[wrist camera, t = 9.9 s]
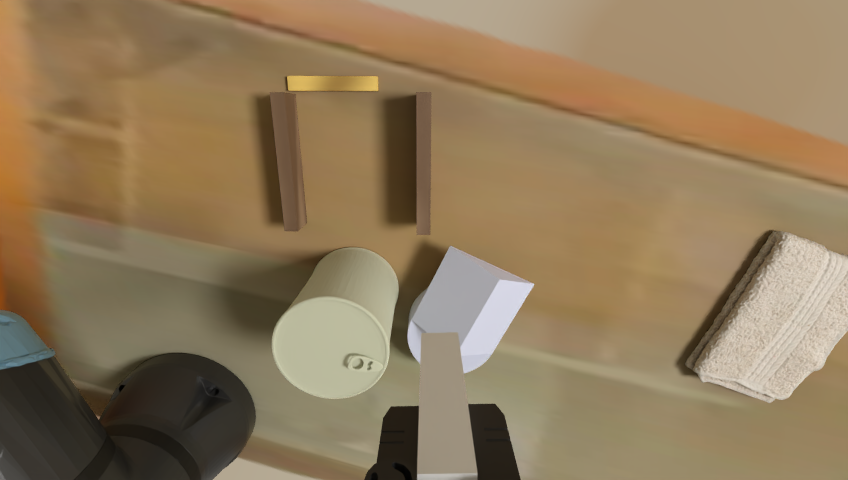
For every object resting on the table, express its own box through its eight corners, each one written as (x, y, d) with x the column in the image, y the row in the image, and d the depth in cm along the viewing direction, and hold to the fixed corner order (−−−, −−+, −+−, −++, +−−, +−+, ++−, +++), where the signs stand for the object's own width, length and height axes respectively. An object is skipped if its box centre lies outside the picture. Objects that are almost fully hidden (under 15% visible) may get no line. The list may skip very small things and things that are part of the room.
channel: (294, 222, 39) (280, 234, 35) (280, 76, 35) (262, 71, 31) (429, 223, 39) (430, 234, 35) (430, 76, 35) (431, 72, 31)
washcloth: (676, 367, 45) (694, 384, 42) (766, 223, 40) (794, 232, 37) (765, 394, 46) (789, 414, 43) (864, 259, 41) (898, 270, 38)
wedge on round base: (448, 235, 39) (395, 337, 43) (452, 258, 33) (390, 376, 37) (525, 270, 41) (468, 367, 44) (544, 299, 34) (475, 409, 38)
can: (381, 337, 43) (366, 418, 32) (300, 310, 42) (254, 383, 31) (411, 264, 40) (406, 323, 29) (325, 233, 39) (285, 282, 28)
